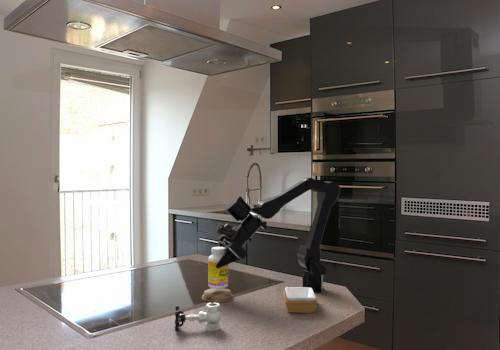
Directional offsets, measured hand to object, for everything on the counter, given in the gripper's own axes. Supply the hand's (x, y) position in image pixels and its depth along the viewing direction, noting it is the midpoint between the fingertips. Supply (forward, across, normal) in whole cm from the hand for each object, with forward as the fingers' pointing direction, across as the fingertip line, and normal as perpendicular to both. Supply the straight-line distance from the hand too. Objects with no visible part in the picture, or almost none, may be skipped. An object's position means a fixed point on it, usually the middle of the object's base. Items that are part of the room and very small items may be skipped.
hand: (214, 265), depth 136 cm
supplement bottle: (+4, 0, +6) cm, 7 cm away
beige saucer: (+7, 0, +8) cm, 11 cm away
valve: (+15, +25, +1) cm, 29 cm away
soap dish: (-8, +16, +25) cm, 31 cm away
